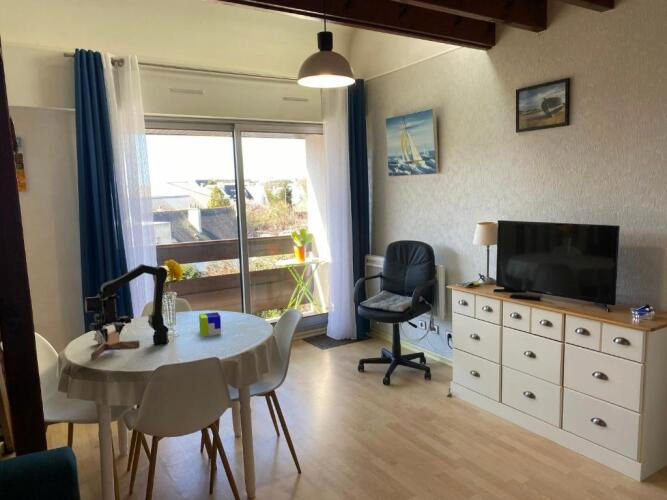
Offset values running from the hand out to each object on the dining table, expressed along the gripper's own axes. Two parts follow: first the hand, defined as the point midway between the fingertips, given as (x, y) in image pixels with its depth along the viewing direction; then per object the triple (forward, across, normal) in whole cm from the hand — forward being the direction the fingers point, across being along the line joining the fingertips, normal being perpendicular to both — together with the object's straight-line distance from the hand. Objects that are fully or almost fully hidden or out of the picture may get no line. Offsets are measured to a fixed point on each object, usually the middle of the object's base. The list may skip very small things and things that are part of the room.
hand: (111, 340), depth 241 cm
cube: (+1, 0, 0) cm, 1 cm away
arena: (+6, -1, +3) cm, 6 cm away
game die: (+6, -4, -17) cm, 19 cm away
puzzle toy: (+6, -49, +13) cm, 51 cm away
